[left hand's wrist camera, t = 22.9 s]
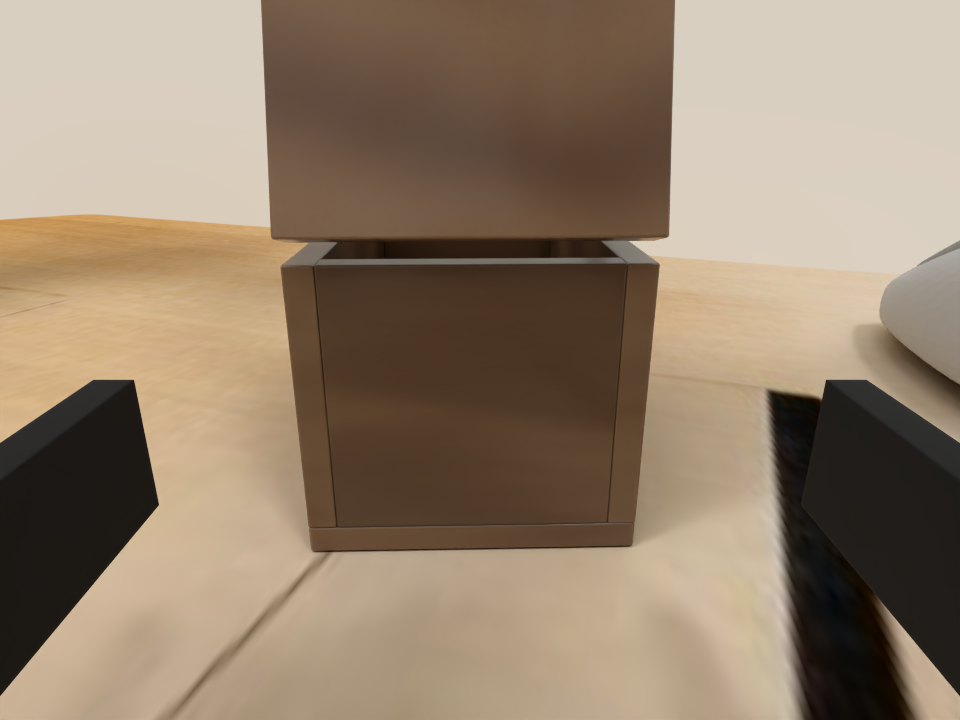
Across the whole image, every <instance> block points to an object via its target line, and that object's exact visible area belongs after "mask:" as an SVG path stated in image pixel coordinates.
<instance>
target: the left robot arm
mask: <svg viewBox="0 0 960 720" xmlns="http://www.w3.org/2000/svg"><path fill="white" fill-rule="evenodd" d="M158 505H159V503H158V498H157V493H156V488H155V483H154V478H153V473H152V468H151V463H150V458H149V453H148V448H147V443H146V438H145V433H144V428H143V423H142V418H141V413H140V408H139V403H138V398H137V393H136V388H135V383H134V380H93V381H91V382H90V383H88V384H87V385H85V386H84V387H82V388H81V389H79V390H78V391H76V392H75V393H73V394H72V395H71V396H69V397H68V398H66V399H65V400H63V401H62V402H60V403H59V404H57V405H56V406H54V407H53V408H51V409H50V410H48V411H47V412H45V413H44V414H42V415H41V416H39V417H38V418H37V419H35V420H34V421H32V422H31V423H29V424H28V425H26V426H25V427H23V428H22V429H20V430H19V431H17V432H16V433H14V434H13V435H11V436H10V437H8V438H7V439H5V440H4V441H3V442H1V443H0V696H1V694H2V693H3V692H4V691H5V690H6V688H7V687H8V686H9V685H10V684H11V682H12V681H13V680H14V679H15V678H16V676H17V675H18V674H19V673H20V672H21V670H22V669H23V668H24V667H25V666H26V664H27V663H28V662H29V661H30V660H31V658H32V657H33V656H34V655H35V654H36V652H37V651H38V650H39V649H40V647H41V646H42V645H43V644H44V643H45V641H46V640H47V639H48V638H49V637H50V635H51V634H52V633H53V632H54V631H55V629H56V628H57V627H58V626H59V625H60V623H61V622H62V621H63V620H64V619H65V617H66V616H67V615H68V614H69V613H70V611H71V610H72V609H73V608H74V607H75V605H76V604H77V603H78V602H79V601H80V599H81V598H82V597H83V596H84V595H85V593H86V592H87V591H88V590H89V589H90V587H91V586H92V585H93V584H94V582H95V581H96V580H97V579H98V578H99V576H100V575H101V574H102V573H103V572H104V570H105V569H106V568H107V567H108V566H109V564H110V563H111V562H112V561H113V560H114V558H115V557H116V556H117V555H118V554H119V552H120V551H121V550H122V549H123V548H124V546H125V545H126V544H127V543H128V542H129V540H130V539H131V538H132V537H133V536H134V534H135V533H136V532H137V531H138V530H139V528H140V527H141V526H142V525H143V524H144V522H145V521H146V520H147V519H148V518H149V516H150V515H151V514H152V513H153V511H154V510H155V509H156V508H157V507H158ZM801 505H802V507H803V508H804V509H805V510H806V511H807V513H808V514H809V515H810V516H811V518H812V519H813V520H814V521H815V522H816V524H817V525H818V526H819V527H820V528H821V530H822V531H823V532H824V533H825V534H826V536H827V537H828V538H829V539H830V540H831V542H832V543H833V544H834V545H835V546H836V548H837V549H838V550H839V551H840V552H841V554H842V555H843V556H844V557H845V558H846V560H847V561H848V562H849V563H850V564H851V566H852V567H853V568H854V569H855V570H856V572H857V573H858V574H859V575H860V576H861V578H862V579H863V580H864V581H865V582H866V584H867V585H868V586H869V587H870V589H871V590H872V591H873V592H874V593H875V595H876V596H877V597H878V598H879V599H880V601H881V602H882V603H883V604H884V605H885V607H886V608H887V609H888V610H889V611H890V613H891V614H892V615H893V616H894V617H895V619H896V620H897V621H898V622H899V623H900V625H901V626H902V627H903V628H904V629H905V631H906V632H907V633H908V634H909V635H910V637H911V638H912V639H913V640H914V641H915V643H916V644H917V645H918V646H919V647H920V649H921V650H922V651H923V652H924V654H925V655H926V656H927V657H928V658H929V660H930V661H931V662H932V663H933V664H934V666H935V667H936V668H937V669H938V670H939V672H940V673H941V674H942V675H943V676H944V678H945V679H946V680H947V681H948V682H949V684H950V685H951V686H952V687H953V688H954V690H955V691H956V692H957V693H958V694H959V696H960V443H959V442H957V441H956V440H955V439H953V438H952V437H950V436H949V435H947V434H946V433H944V432H943V431H941V430H940V429H938V428H937V427H935V426H934V425H932V424H931V423H929V422H928V421H926V420H925V419H923V418H922V417H921V416H919V415H918V414H916V413H915V412H913V411H912V410H910V409H909V408H907V407H906V406H904V405H903V404H901V403H900V402H898V401H897V400H895V399H894V398H892V397H891V396H889V395H888V394H887V393H885V392H884V391H882V390H881V389H879V388H878V387H876V386H875V385H873V384H872V383H870V382H869V381H867V380H826V383H825V388H824V393H823V398H822V403H821V408H820V413H819V418H818V423H817V428H816V433H815V438H814V443H813V448H812V453H811V458H810V463H809V468H808V473H807V478H806V483H805V488H804V493H803V498H802V503H801Z"/></svg>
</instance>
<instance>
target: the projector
mask: <svg viewBox="0 0 960 720" xmlns="http://www.w3.org/2000/svg"><path fill="white" fill-rule="evenodd" d="M880 319H881V321H882V323H883V324H884V325H885V327H886V328H887V329H888V330H889V331H890V332H891V333H892V334H893V335H894V336H895V337H896V338H897V339H898V340H899V341H900V342H901V343H903V344H904V345H905V346H906V347H907V348H908V349H910V350H911V351H912V352H913V353H915V354H916V355H917V356H919V357H920V358H921V359H922V360H924V361H925V362H926V363H928V364H929V365H931V366H932V367H934V368H935V369H936V370H938V371H939V372H941V373H942V374H944V375H945V376H947V377H948V378H950V379H951V380H953V381H955V382H956V383H958V384H959V385H960V241H958V242H956V243H954V244H953V245H951V246H949V247H947V248H945V249H944V250H942V251H940V252H938V253H936V254H935V255H933V256H931V257H929V258H928V259H926V260H924V261H923V262H921V263H920V264H919V265H917V267H915V268H913V269H911V270H909V271H908V272H906V273H904V274H902V275H901V276H899V277H898V278H896V279H894V280H893V281H892V282H891V283H890V284H889V285H888V286H887V287H886V289H885V291H884V294H883V296H882V299H881V303H880Z"/></svg>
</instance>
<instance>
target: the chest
mask: <svg viewBox="0 0 960 720" xmlns="http://www.w3.org/2000/svg"><path fill="white" fill-rule="evenodd" d="M659 266H660V265H659V263H658V262H656V261H655V260H654V259H652V258H651V257H649V256H648V255H647V254H645V253H644V252H643V251H641V250H640V249H639V248H637V247H636V246H634V245H633V244H632V243H630V242H629V241H487V242H310V243H309V244H308V245H306V246H305V247H304V248H303V249H301V250H300V251H299V252H298V253H296V254H295V255H294V256H293V257H292V258H290V259H289V260H288V261H287V262H285V263H284V264H283V265H282V266H281V276H282V285H283V294H284V303H285V312H286V322H287V331H288V340H289V349H290V359H291V368H292V377H293V386H294V395H295V405H296V414H297V423H298V432H299V441H300V451H301V460H302V469H303V478H304V487H305V497H306V506H307V515H308V524H309V527H310V529H309V531H310V541H311V549H312V550H313V551H332V550H391V549H451V548H511V547H571V546H630V545H632V543H633V532H634V522H635V515H636V505H637V494H638V484H639V474H640V463H641V453H642V443H643V432H644V422H645V411H646V401H647V391H648V380H649V370H650V360H651V349H652V339H653V329H654V318H655V308H656V298H657V287H658V277H659Z"/></svg>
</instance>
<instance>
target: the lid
mask: <svg viewBox="0 0 960 720" xmlns="http://www.w3.org/2000/svg"><path fill="white" fill-rule="evenodd" d="M261 11H262V34H263V58H264V81H265V105H266V129H267V152H268V176H269V199H270V223H271V238H272V239H274V240H277V241H281V242H285V243H296V242H487V241H655V240H659V239H663V238H667V237H668V236H669V215H670V176H671V137H672V97H673V59H674V20H675V0H261Z"/></svg>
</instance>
